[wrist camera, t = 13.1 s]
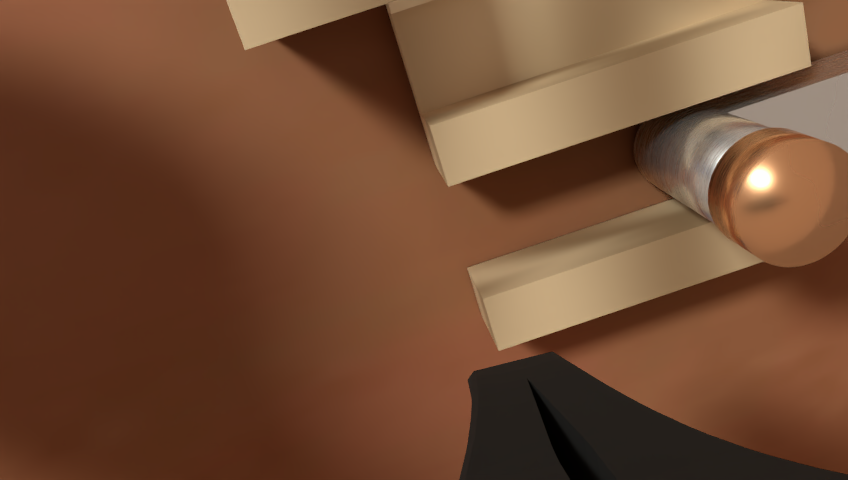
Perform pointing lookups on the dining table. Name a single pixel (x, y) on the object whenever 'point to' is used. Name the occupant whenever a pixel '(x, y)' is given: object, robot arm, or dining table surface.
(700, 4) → the press frame
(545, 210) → the dining table surface
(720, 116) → the copper-capped metal cylinder
